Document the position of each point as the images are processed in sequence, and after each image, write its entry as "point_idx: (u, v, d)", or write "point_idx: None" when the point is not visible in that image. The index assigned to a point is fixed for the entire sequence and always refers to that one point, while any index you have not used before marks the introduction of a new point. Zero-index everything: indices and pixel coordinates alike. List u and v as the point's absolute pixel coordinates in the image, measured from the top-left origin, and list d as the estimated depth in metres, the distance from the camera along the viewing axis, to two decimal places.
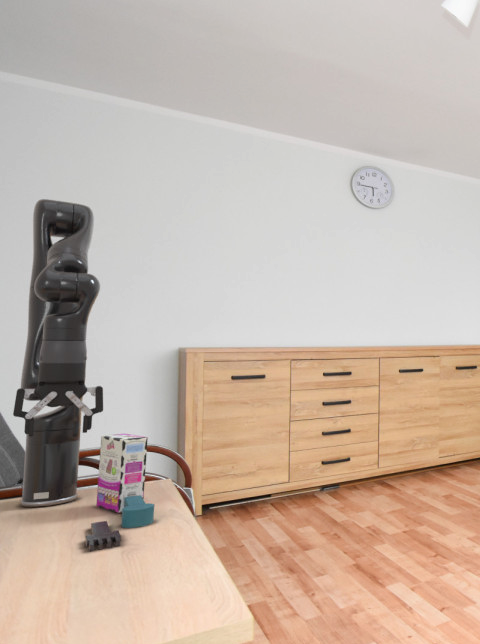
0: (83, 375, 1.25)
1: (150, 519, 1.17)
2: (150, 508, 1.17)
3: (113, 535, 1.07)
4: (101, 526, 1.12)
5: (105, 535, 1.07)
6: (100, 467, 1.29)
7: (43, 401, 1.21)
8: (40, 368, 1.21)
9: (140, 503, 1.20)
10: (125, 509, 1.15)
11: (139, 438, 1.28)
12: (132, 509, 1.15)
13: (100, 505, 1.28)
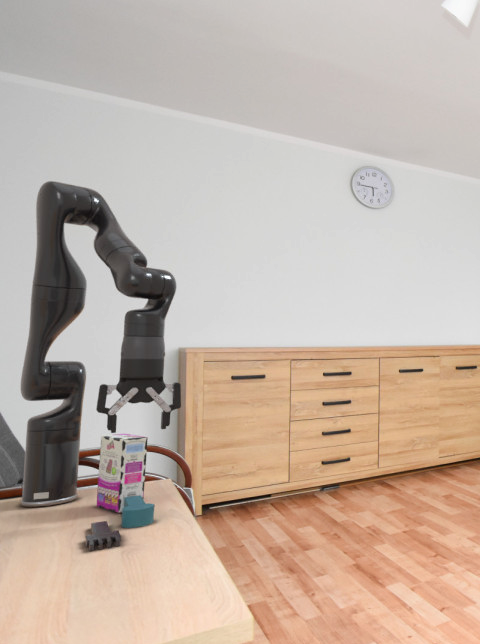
0: (162, 371, 1.25)
1: (150, 519, 1.17)
2: (150, 508, 1.17)
3: (113, 535, 1.07)
4: (101, 526, 1.12)
5: (105, 535, 1.07)
6: (100, 467, 1.29)
7: (125, 397, 1.20)
8: (122, 364, 1.20)
9: (140, 503, 1.20)
10: (125, 509, 1.15)
11: (139, 438, 1.28)
12: (132, 509, 1.15)
13: (100, 505, 1.28)
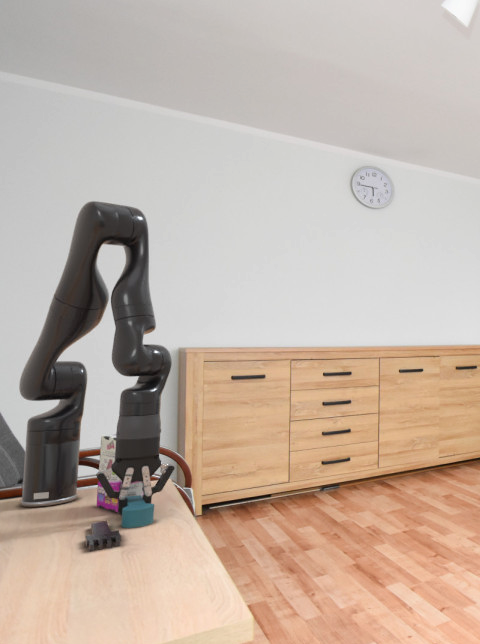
0: (158, 448, 1.24)
1: (150, 519, 1.17)
2: (150, 508, 1.17)
3: (113, 535, 1.07)
4: (101, 526, 1.12)
5: (105, 535, 1.07)
6: (100, 467, 1.29)
7: (126, 479, 1.20)
8: (117, 444, 1.19)
9: (140, 503, 1.20)
10: (125, 509, 1.15)
11: None
12: (132, 509, 1.15)
13: (100, 505, 1.28)
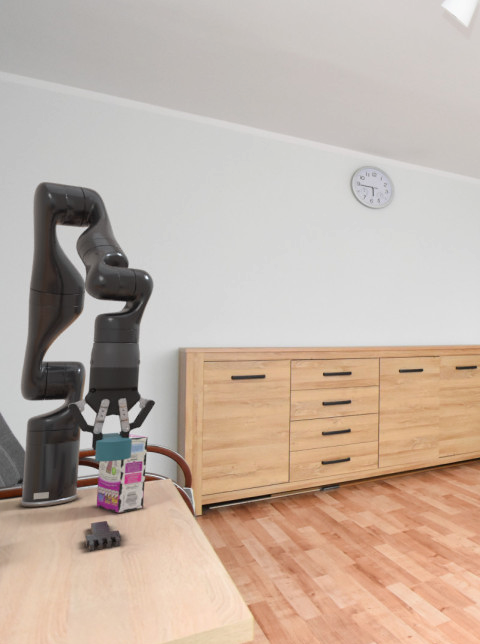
0: (137, 381, 1.14)
1: (126, 453, 1.07)
2: (127, 441, 1.07)
3: (113, 535, 1.07)
4: (101, 526, 1.12)
5: (105, 535, 1.07)
6: (100, 467, 1.29)
7: (101, 412, 1.10)
8: (91, 373, 1.09)
9: (116, 437, 1.10)
10: (99, 441, 1.05)
11: (139, 438, 1.28)
12: (107, 441, 1.05)
13: (100, 505, 1.28)
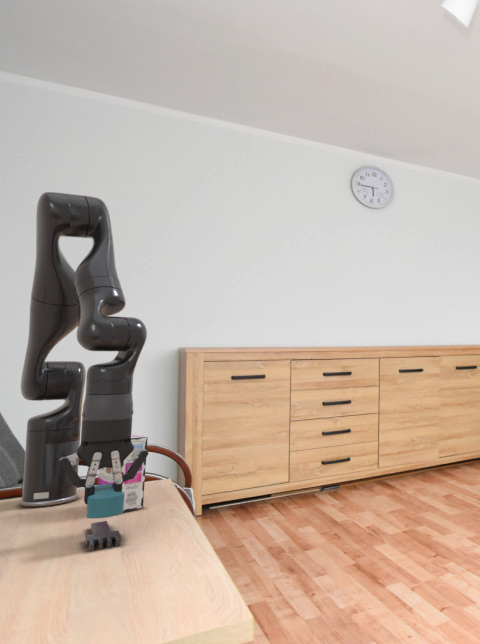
0: (130, 432, 1.12)
1: (119, 509, 1.05)
2: (119, 497, 1.05)
3: (113, 535, 1.07)
4: (101, 526, 1.12)
5: (105, 535, 1.07)
6: None
7: (93, 465, 1.08)
8: (83, 426, 1.07)
9: (109, 491, 1.08)
10: (91, 497, 1.04)
11: (139, 438, 1.28)
12: (98, 497, 1.04)
13: None
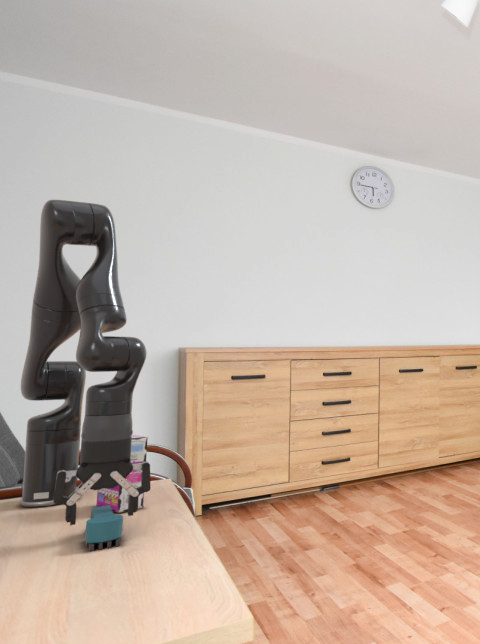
0: (129, 452, 1.12)
1: (117, 532, 1.05)
2: (118, 520, 1.05)
3: None
4: None
5: None
6: None
7: (86, 484, 1.07)
8: (83, 447, 1.07)
9: (107, 514, 1.08)
10: (89, 522, 1.03)
11: (139, 438, 1.28)
12: (97, 522, 1.03)
13: (100, 505, 1.28)
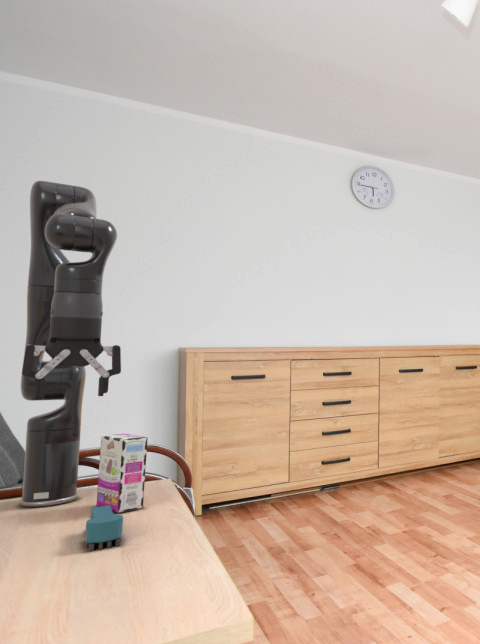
0: (99, 332, 1.13)
1: (117, 532, 1.05)
2: (118, 520, 1.05)
3: None
4: None
5: None
6: (100, 467, 1.29)
7: (55, 359, 1.08)
8: (52, 323, 1.08)
9: (107, 514, 1.08)
10: (89, 522, 1.03)
11: (139, 438, 1.28)
12: (97, 522, 1.03)
13: (100, 505, 1.28)
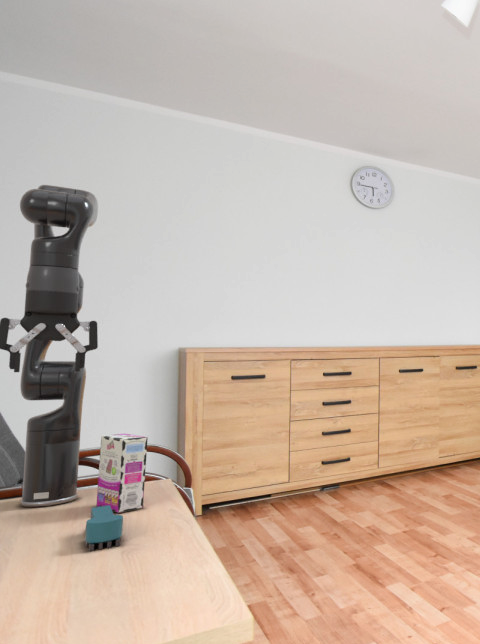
0: (75, 307, 1.13)
1: (117, 532, 1.05)
2: (118, 520, 1.05)
3: None
4: None
5: None
6: (100, 467, 1.29)
7: (30, 333, 1.08)
8: (27, 296, 1.08)
9: (107, 514, 1.08)
10: (89, 522, 1.03)
11: (139, 438, 1.28)
12: (97, 522, 1.03)
13: (100, 505, 1.28)
